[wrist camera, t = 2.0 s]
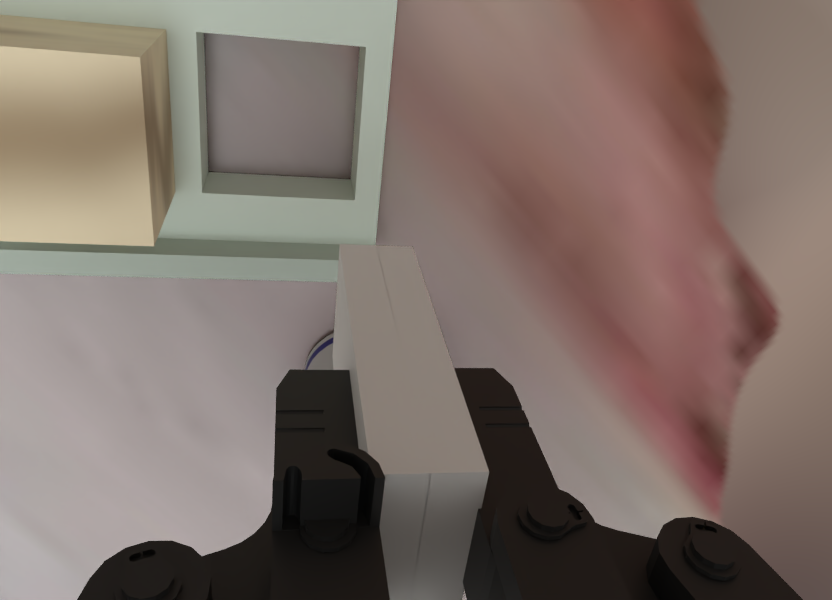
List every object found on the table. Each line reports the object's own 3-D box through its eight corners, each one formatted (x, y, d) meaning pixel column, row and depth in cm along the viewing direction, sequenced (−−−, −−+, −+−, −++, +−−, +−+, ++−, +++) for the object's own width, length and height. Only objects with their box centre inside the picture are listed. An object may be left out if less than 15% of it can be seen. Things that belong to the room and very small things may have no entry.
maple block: (175, 191, 28) (154, 246, 23) (7, 184, 26) (-48, 239, 22) (166, 29, 25) (139, 57, 20) (-23, 12, 24) (-93, 38, 19)
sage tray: (367, 242, 33) (376, 283, 29) (-292, 218, 28) (-374, 263, 24) (408, -241, 24) (428, -264, 21) (-536, -398, 19) (-718, -463, 16)
